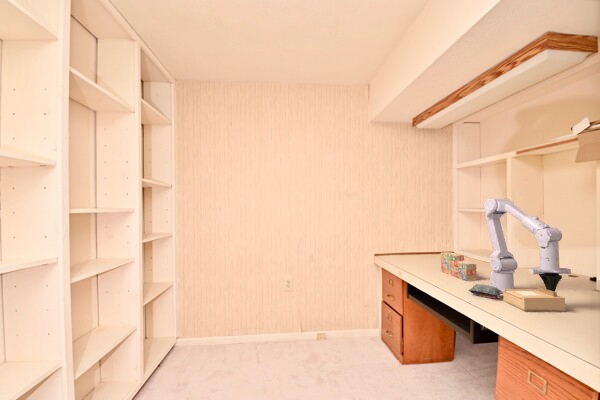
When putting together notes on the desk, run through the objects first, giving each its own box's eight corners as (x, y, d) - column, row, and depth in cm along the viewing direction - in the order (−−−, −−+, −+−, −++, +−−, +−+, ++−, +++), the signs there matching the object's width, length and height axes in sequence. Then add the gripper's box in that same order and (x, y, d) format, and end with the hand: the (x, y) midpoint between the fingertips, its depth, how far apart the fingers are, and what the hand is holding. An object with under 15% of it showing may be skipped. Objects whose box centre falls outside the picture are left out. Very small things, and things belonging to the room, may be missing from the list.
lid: (505, 291, 111) (505, 286, 111) (542, 291, 111) (542, 286, 111) (521, 298, 103) (521, 293, 103) (561, 298, 102) (561, 292, 102)
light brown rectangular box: (503, 301, 112) (503, 289, 113) (540, 301, 112) (539, 289, 112) (524, 311, 101) (524, 298, 102) (565, 311, 101) (564, 297, 101)
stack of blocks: (477, 280, 144) (476, 258, 144) (466, 281, 143) (465, 258, 144) (450, 271, 165) (449, 251, 166) (440, 272, 165) (440, 252, 165)
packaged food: (474, 291, 127) (474, 280, 127) (505, 297, 118) (504, 286, 118) (468, 295, 122) (467, 284, 122) (499, 302, 113) (498, 290, 113)
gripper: (539, 260, 103) (540, 295, 103) (577, 259, 103) (579, 295, 102) (524, 256, 110) (525, 289, 110) (560, 256, 110) (562, 289, 109)
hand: (550, 291), depth 106 cm, fingers closed
